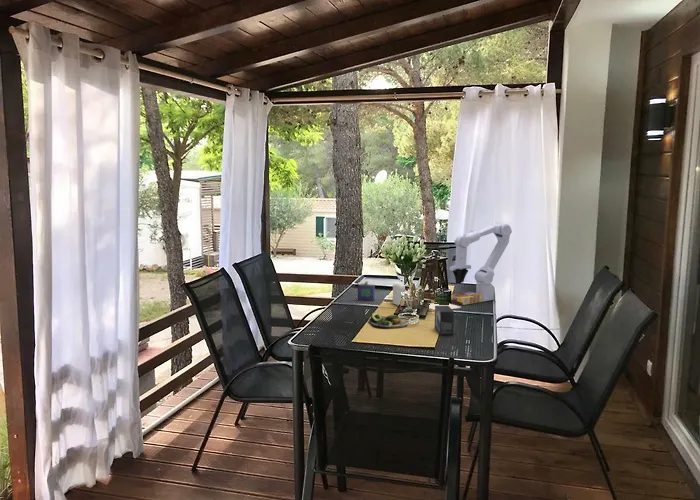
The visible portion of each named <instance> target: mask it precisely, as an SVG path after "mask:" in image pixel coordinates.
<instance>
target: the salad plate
mask: <svg viewBox="0 0 700 500" xmlns="http://www.w3.org/2000/svg"><path fill="white" fill-rule="evenodd" d="M409 320H410V318H408V317H407V318H406V317H401V315H398V316H397V314H395V315H394V314H389V315H387V316H386V315H385V316H382V315H381V314H380V313H379V312H372V313H371V315H370V317H369V318H368V322H369V324H370V326H372V327H373V328H376V329H399V328H404V327H406V326H408V322H407V321H409Z"/></svg>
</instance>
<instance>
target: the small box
mask: <svg viewBox="0 0 700 500" xmlns="http://www.w3.org/2000/svg"><path fill="white" fill-rule="evenodd" d="M454 316H455V311H454V309H451V308H450V307H449V306H448V305H447V306H435V310H434V329H435V330H436V331H437V333H438V334H439V336H440V335H443V336H444V335H454V321H455V320H454V319H455V317H454Z"/></svg>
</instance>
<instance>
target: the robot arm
mask: <svg viewBox="0 0 700 500" xmlns="http://www.w3.org/2000/svg"><path fill="white" fill-rule="evenodd" d="M490 234H494V236H495V238H496V239H497V242H496V244H495V246H494V247H493V250H492V251H491V252H490V255H489V256H488V258H487V260H486V262H485V263H484V265H482V266H481V267H480V268H479V269H478V270H477V271H476V272H475V273H474V276H473V277H474V280H475V281H476V289H475V290H476V291H475V293H477V294H481V295H482V302H487V301H493V300H495V298H494V292H495V291H494V290H495V288H494V285H493V283H492V282H493V279H494V276H495V272H494V270H495V268H496V266H497V265H498V263H499V261H500V259H501V257H502V256H503V254H504V253H505V250H506V249H507V248H508V247H507V246H508V245H509V244H510V237H511V234H512V228H511V225H509V224H507V223H501V222H500V223H499V222H495V223H492V224H490V225H489V226H486V227H484V228H482V229H480V230H478V231H477V230H473V229H472V230H470V232H468V233H463V235H457V236H456V237H455V240H454V242H453V243H454V244H455V262H454V263H455V264H454V265H451V266H449V271H452V273H453V275H454V279H455V283H457V284H460V283H462V284H463V283H464V281H465V279H466V276H467V274H468V272H469V270H471V269H472V265H471V264H467V253H468V247H469V246H470V245H471V244H473V243H475V242H478V241H480V238H481V237H484V236H487V235H490Z"/></svg>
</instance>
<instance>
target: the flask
mask: <svg viewBox="0 0 700 500" xmlns="http://www.w3.org/2000/svg"><path fill="white" fill-rule="evenodd" d="M368 282H369V281H365V282H363V283H358V284H357V301H359V302H365V301H366V302H374V301H375V300H376V299H375V287H376V286H375V285H376V284H374V283H368Z"/></svg>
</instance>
